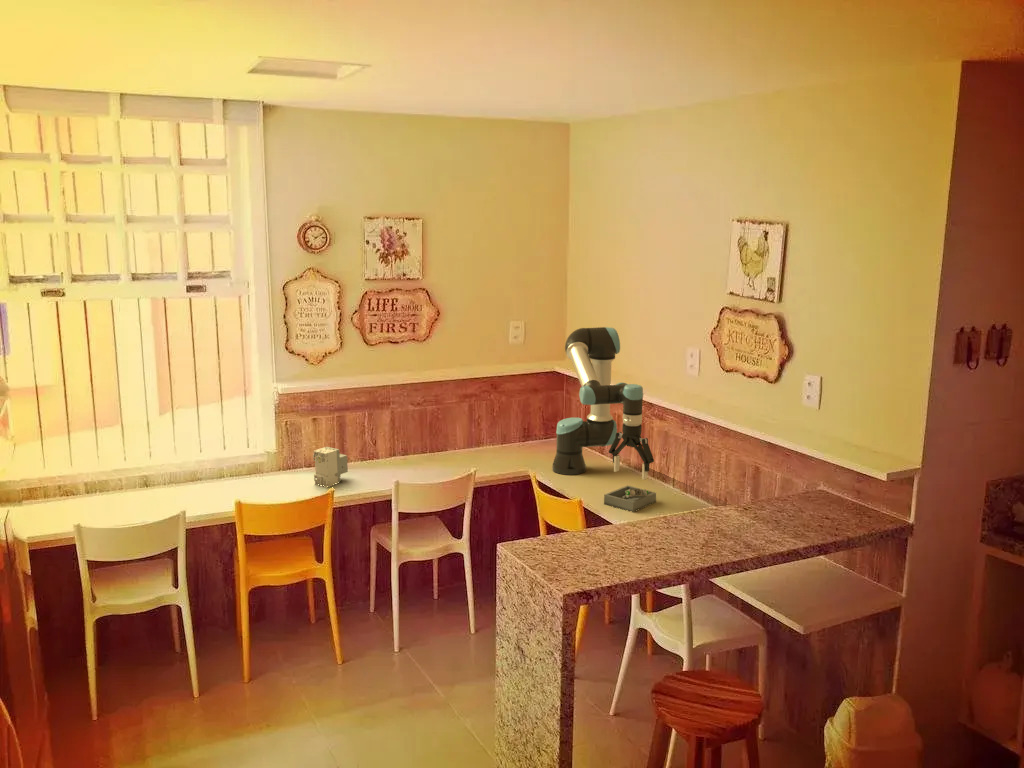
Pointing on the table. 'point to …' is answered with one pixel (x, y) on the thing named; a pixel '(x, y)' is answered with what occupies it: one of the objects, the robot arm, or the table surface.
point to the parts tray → (628, 504)
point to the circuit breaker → (329, 466)
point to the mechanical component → (635, 493)
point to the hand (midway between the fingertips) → (630, 474)
